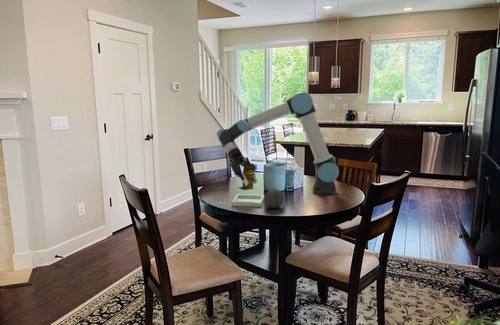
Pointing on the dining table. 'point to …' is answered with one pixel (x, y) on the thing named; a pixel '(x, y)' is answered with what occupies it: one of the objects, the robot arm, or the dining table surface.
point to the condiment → (248, 178)
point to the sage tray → (248, 200)
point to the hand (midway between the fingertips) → (251, 183)
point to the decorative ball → (274, 198)
